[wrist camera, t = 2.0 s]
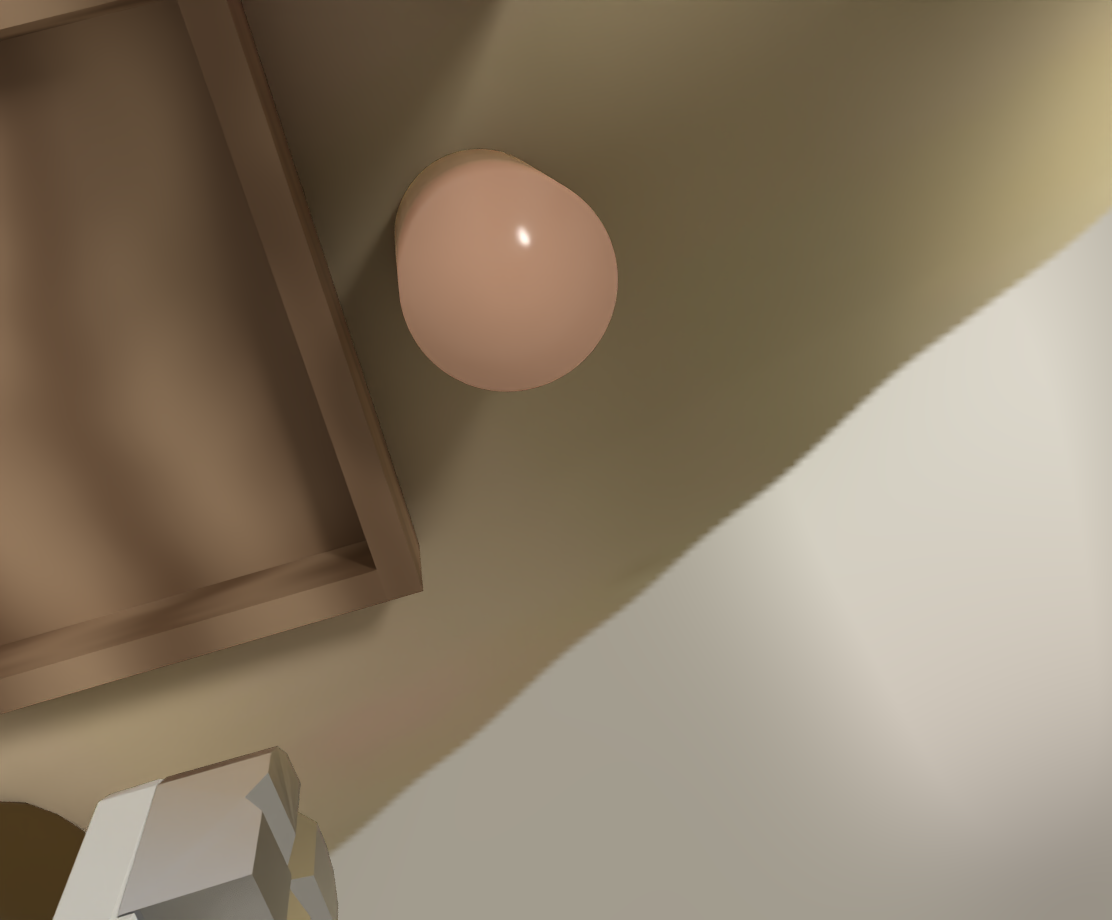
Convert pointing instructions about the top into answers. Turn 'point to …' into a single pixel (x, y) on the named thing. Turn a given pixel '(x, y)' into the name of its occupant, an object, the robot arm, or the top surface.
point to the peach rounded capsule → (502, 271)
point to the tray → (169, 359)
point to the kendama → (34, 860)
